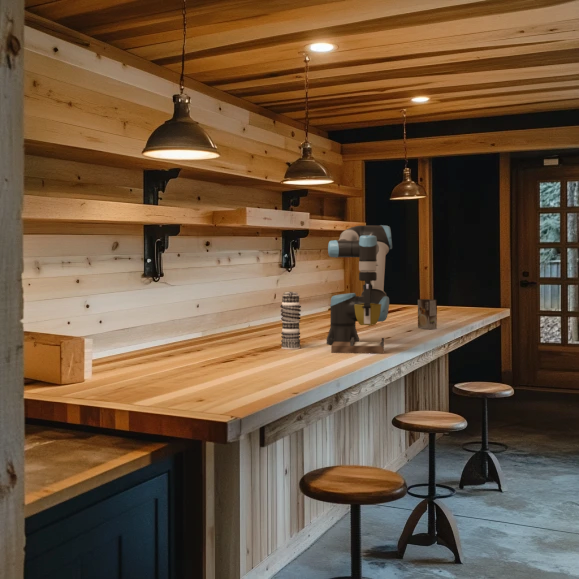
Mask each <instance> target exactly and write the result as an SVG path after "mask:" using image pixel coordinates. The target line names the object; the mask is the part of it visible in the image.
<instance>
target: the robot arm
mask: <svg viewBox="0 0 579 579" xmlns="http://www.w3.org/2000/svg"><path fill="white" fill-rule="evenodd" d="M327 245H328V246H327V252H328V256H329V257H330V258H336V259H337V258H358V259H359V261H358V271H359V273H358V280H359V281H361V282H364V284H363V285H362V292H361V295H357V294H356V293H355V292H348V293H341V294H336V295H335V294H334V295H332V296H331V298H330V306H329V307H330V328H329V329H328V330H329V331H328V333H327V337H326V344H327V345H329V346H332V344H333V342H350V341H351V339H352V337H354V342H360V338H359V334H358V331H357V328H356V327H357V326H356V322H358V321H357V318H356V315H355V307H354V305H355V304H363V303H364V306H362V308H364V324H370V304H381V311H380V317H379V319H378V321H377V323H378V322H379V323H380V322H381V323H382V322H385V321H386V320H387V318H388V314H389V308H390V298H389V296H387V292H385V291H384V286H385V271H386V270H385V269H386V255H387V254H388V253H389V251H390V250H392V249H393V241H392V231H391V227H390V225H389V226H388V225H384V224H383V225H382V224H380V225H355V226H351V227H349V228H347V229H345V230H343V231H342V232H341V233H340V235H339V239H338V240H336V239H334V240H329V242H328V244H327Z"/></svg>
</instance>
